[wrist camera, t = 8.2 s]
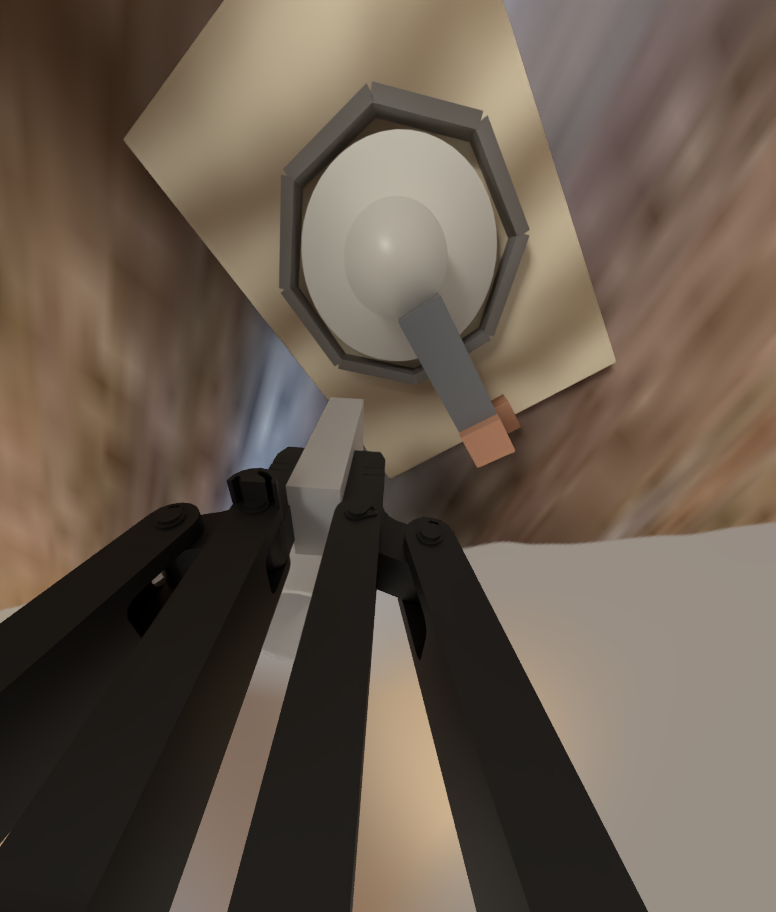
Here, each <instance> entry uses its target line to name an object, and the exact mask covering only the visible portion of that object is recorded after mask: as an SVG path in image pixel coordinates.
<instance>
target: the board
mask: <svg viewBox="0 0 776 912" xmlns="http://www.w3.org/2000/svg"><path fill="white" fill-rule="evenodd" d="M394 129H404V130H415V131H419V132H424V133H427V134H430V135H432V136H434V137H437V138H439V139H441V140H443V141H444V142H446V143H447V144H449V145H451V146H452V147H453V148H455V149H456V150H457V151H458V152H459V153H460V154H461V155H462V156H464V157H465V159H466V160H467V161H468V162H469V163H470V165H471V166H472V167H473V168H474V169H475V171H476V173H477V174H478V176H479V178H480V179H481V181H482V183H483V185H484V187H485V189H486V192H487V194H488V196H489V199H490V202H491V206H492V209H493V212H494V218H495V224H496V234H497V252H496V263H495V268H494V274H493V277H492V281H491V284H490V288H489V290H488V293H487V295H486V297H485V300H484V302H483V304H482V306H481V307H480V309H479V311H478V313H477V314H476V316H475V317H474V319H473V320H472V321H471V323H470V324H469V325H468V326H467V328H466V329H465V330H464V331H463V332H462V333H461V334H460V337H461V339H462V341H463V343H464V345H465V347H466V350H467V352H468V354H469V356H470V358H471V360H472V362H473V364H474V366H475V368H476V371H477V373H478V375H479V377H480V379H481V381H482V383H483V385H484V387H485V389H486V392H487V394H488V396H489V398H490V400H491V402H492V404H493V406H494V408H495V410H496V413H497V414H498V416H499V418H500V419H501V422H502V424H503V426H504V428H505V430H506V432H507V434H508V433H510V432H512V431H514V430H516V429H518V428H520V427H521V426H520V424H519V422H518V420H517V418H516V416H515V414H517V413H519V412H521V411H523V410H525V409H526V408H528V407H530V406H532V405H534V404H536V403H538V402H540V401H542V400H544V399H546V398H548V397H550V396H552V395H553V394H555V393H557V392H559V391H561V390H563V389H565V388H567V387H569V386H571V385H573V384H575V383H577V382H579V381H580V380H582V379H584V378H586V377H588V376H590V375H592V374H594V373H596V372H598V371H600V370H602V369H604V368H606V367H608V366H609V365H611V364H613V363H615V362H616V360H615V357H614V353H613V350H612V347H611V344H610V341H609V337H608V334H607V331H606V328H605V325H604V321H603V318H602V315H601V312H600V309H599V305H598V302H597V299H596V296H595V293H594V289H593V286H592V283H591V280H590V277H589V274H588V270H587V267H586V264H585V261H584V258H583V254H582V251H581V248H580V245H579V242H578V238H577V235H576V232H575V229H574V226H573V222H572V219H571V216H570V213H569V210H568V206H567V203H566V200H565V197H564V194H563V191H562V187H561V184H560V181H559V178H558V175H557V171H556V168H555V165H554V162H553V159H552V155H551V152H550V149H549V146H548V143H547V139H546V136H545V133H544V130H543V127H542V123H541V120H540V117H539V114H538V111H537V108H536V104H535V101H534V98H533V95H532V92H531V88H530V85H529V82H528V79H527V76H526V72H525V69H524V66H523V63H522V60H521V56H520V53H519V50H518V47H517V44H516V40H515V37H514V34H513V31H512V28H511V25H510V21H509V18H508V15H507V12H506V9H505V5H504V2H503V0H224V1H223V2H222V4H221V5H220V6H219V8H218V9H217V11H216V12H215V13H214V15H213V16H212V17H211V19H210V20H209V22H208V23H207V24H206V26H205V27H204V28H203V30H202V31H201V33H200V34H199V35H198V37H197V38H196V40H195V41H194V42H193V44H192V45H191V46H190V48H189V49H188V51H187V52H186V53H185V55H184V56H183V58H182V59H181V60H180V62H179V63H178V64H177V66H176V67H175V69H174V70H173V71H172V73H171V74H170V75H169V77H168V78H167V80H166V81H165V82H164V84H163V85H162V87H161V88H160V89H159V91H158V92H157V93H156V95H155V96H154V98H153V99H152V100H151V102H150V103H149V104H148V106H147V107H146V109H145V110H144V111H143V113H142V114H141V116H140V117H139V118H138V120H137V121H136V122H135V124H134V125H133V127H132V128H131V129H130V131H129V132H128V133H127V135H126V136H125V138H124V139H123V140H124V141H125V143H126V144H127V145H128V146H129V148H130V149H131V150H132V151H133V153H134V154H135V155H136V157H137V158H138V159H139V160H140V162H141V163H142V164H143V165H144V167H145V168H146V169H147V171H148V172H149V173H150V174H151V176H152V177H153V178H154V179H155V181H156V182H157V183H158V185H159V186H160V187H161V188H162V190H163V191H164V192H165V193H166V195H167V196H168V197H169V199H170V200H171V201H172V202H173V204H174V205H175V206H176V207H177V209H178V210H179V211H180V213H181V214H182V215H183V216H184V218H185V219H186V220H187V221H188V223H189V224H190V225H191V227H192V228H193V229H194V230H195V232H196V233H197V234H198V235H199V237H200V238H201V239H202V241H203V242H204V243H205V244H206V246H207V247H208V248H209V249H210V251H211V252H212V253H213V254H214V256H215V257H216V258H217V260H218V261H219V262H220V263H221V265H222V266H223V267H224V268H225V270H226V271H227V272H228V274H229V275H230V276H231V277H232V279H233V280H234V281H235V282H236V284H237V285H238V286H239V288H240V289H241V290H242V291H243V293H244V294H245V295H246V296H247V298H248V299H249V300H250V302H251V303H252V304H253V305H254V307H255V308H256V309H257V310H258V312H259V313H260V314H261V316H262V317H263V318H264V319H265V321H266V322H267V323H268V324H269V326H270V327H271V328H272V330H273V331H274V332H275V333H276V335H277V336H278V337H279V338H280V340H281V341H282V342H283V344H284V345H285V346H286V347H287V349H288V350H289V351H290V352H291V354H292V355H293V356H294V358H295V359H296V360H297V361H298V363H299V364H300V365H301V366H302V368H303V369H304V370H305V372H306V373H307V374H308V375H309V377H310V378H311V379H312V380H313V382H314V383H315V384H316V386H317V387H318V388H319V389H320V391H321V392H322V393H323V394H324V396H325V397H326V398H327V400H328V401H329V399H330V397H337V398H352V399H364V417H363V445H364V447H365V448H366V449H367V450H368V451H373V452H381V453H382V455H383V457H384V458H385V473H386V475H387V476H388V477H389V478H390V479H391V478H393V477H395V476H397V475H399V474H401V473H403V472H405V471H407V470H409V469H411V468H413V467H414V466H416V465H418V464H420V463H422V462H424V461H426V460H428V459H430V458H432V457H434V456H436V455H438V454H440V453H442V452H443V451H445V450H447V449H449V448H451V447H453V446H455V445H457V444H459V443H461V442H463V441H462V439H461V437H460V434H459V431H458V430H457V428H456V426H455V424H454V422H453V421H452V419H451V417H450V415H449V413H448V412H447V410H446V408H445V406H444V404H443V403H442V401H441V399H440V397H439V395H438V393H437V392H436V390H435V388H434V386H433V384H432V383H431V381H430V379H429V377H428V375H427V374H426V372H425V370H424V368H423V366H422V365H421V363H420V361H419V359H413V360H407V361H387V360H382V359H377V358H374V357H370V356H367V355H365V354H363V353H361V352H359V351H357V350H355V349H353V348H352V347H350V346H349V345H347V344H346V343H345V342H343V341H342V340H341V339H340V338H339V337H337V336H336V334H335V333H334V332H333V331H332V330H331V329H330V328H329V327H328V326H327V324H326V323H325V321H324V320H323V319H322V317H321V316H320V314H319V312H318V311H317V309H316V307H315V305H314V303H313V300H312V298H311V296H310V294H309V290H308V287H307V284H306V281H305V276H304V271H303V265H302V253H301V246H302V231H303V223H304V218H305V214H306V211H307V207H308V204H309V201H310V199H311V196H312V193H313V191H314V189H315V187H316V185H317V184H318V182H319V180H320V178H321V176H322V175H323V174H324V172H325V171H326V169H327V168H328V167H329V165H330V164H331V163H332V162H333V161H334V160H335V159H336V158H337V157H338V156H339V155H340V154H341V153H342V152H343V151H344V150H346V149H347V148H348V147H350V146H351V145H352V144H354V143H355V142H357V141H359V140H361V139H363V138H365V137H367V136H369V135H372V134H375V133H378V132H381V131H388V130H394Z"/></svg>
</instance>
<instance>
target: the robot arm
mask: <svg viewBox="0 0 776 912" xmlns="http://www.w3.org/2000/svg"><path fill="white" fill-rule="evenodd" d="M363 417H364V399H352V398H337V397H330V399H329V401H328V403H327V405H326V407H325V409H324V411H323V413H322V415H321V417H320V419H319V421H318V423H317V425H316V427H315V429H314V431H313V433H312V435H311V437H310V439H309V441H308V443H307V445H306V447H305V448H298V447H287V448H286V449H284V450H283V451H281V452H280V453H278V454H277V456H276V458H275V459H274V461H273V464H271V466H270V467H269V470H268V469H263V468H251V469H247V470H243V471H240V472H238V473H236V474H234V475H232V476H231V477H230V478H229V479H228V480H227V484H228V487H229V491H230V495H231V499H232V502H233V505H232V506H231V508H230V509H229V510H227V511H222V512H216V513H210V514H203V515H200V512H199V510H198V508H197V506H195V505H193V504H190V503H176V504H170V505H167V506H164V507H161V508H159V509H157V510H156V511H154V512H152V513H151V514H149V515H148V516H146V517H145V518H144V519H142V520H141V521H140V522H138V523H137V524H135V525H134V526H133V527H131V528H130V529H129V530H127V531H126V532H125V533H123V534H122V535H120V536H119V537H118V538H116V539H115V540H114V541H112V542H111V543H110V544H108V545H107V546H105V547H104V548H103V549H101V550H100V551H99V552H97V553H96V554H94V555H93V556H92V557H90V558H89V559H88V560H86V561H85V562H84V563H82V564H81V565H79V566H78V567H77V568H75V569H74V570H73V571H71V572H70V573H69V574H67V575H66V576H64V577H63V578H62V579H60V580H59V581H58V582H56V583H55V584H53V585H52V586H51V587H49V588H48V589H47V590H45V591H44V592H43V593H41V594H40V595H38V596H37V597H36V598H34V599H33V600H32V601H30V602H29V603H28V604H26V605H25V606H23V607H22V608H21V609H19V610H18V611H17V612H15V613H14V614H12V615H11V616H10V617H8V618H7V619H6V620H4V621H3V622H2V623H0V843H1V842H2V841H3V840H4V838H5V837H6V836H7V835H8V834H9V835H8V836H7V838H6V839H5V841H4V842H3V844H2V845H1V846H0V912H169V910H170V907H171V905H172V902H173V899H174V896H175V893H176V891H177V888H178V884H179V882H180V879H181V876H182V874H183V870H184V868H185V865H186V862H187V859H188V857H189V854H190V851H191V848H192V845H193V842H194V840H195V837H196V834H197V831H198V828H199V825H200V823H201V820H202V817H203V814H204V811H205V808H206V806H207V803H208V800H209V797H210V794H211V791H212V789H213V786H214V783H215V780H216V777H217V774H218V772H219V769H220V765H221V763H222V760H223V757H224V755H225V751H226V749H227V746H228V743H229V740H230V738H231V735H232V732H233V729H234V726H235V723H236V721H237V718H238V715H239V712H240V709H241V706H242V704H243V700H244V698H245V695H246V692H247V689H248V687H249V684H250V681H251V678H252V675H253V672H254V669H255V666H256V664H257V661H258V658H259V655H260V652H261V650H262V647H263V644H264V641H265V638H266V636H267V633H268V630H269V627H270V624H271V621H272V619H273V616H274V613H275V610H276V607H277V604H278V602H279V599H280V596H281V593H282V590H283V587H284V584H285V582H286V579H287V576H288V573H289V570H290V565H291V561H290V552H291V549H292V546H293V544H294V547H295V554H304V555H319V556H322V559H321V563H320V566H319V570H318V574H317V578H316V581H315V585H314V589H313V593H312V596H311V600H310V604H309V608H308V611H307V615H306V619H305V623H304V626H303V630H302V634H301V638H300V641H299V645H298V649H297V653H296V656H295V660H294V664H293V668H292V672H291V675H290V679H289V682H288V687H287V690H286V694H285V698H284V701H283V705H282V709H281V713H280V716H279V720H278V724H277V728H276V732H275V735H274V739H273V743H272V746H271V750H270V754H269V758H268V761H267V765H266V769H265V772H264V776H263V780H262V784H261V787H260V791H259V795H258V799H257V802H256V806H255V810H254V814H253V818H252V821H251V825H250V829H249V833H248V836H247V840H246V844H245V848H244V851H243V855H242V859H241V862H240V866H239V870H238V874H237V878H236V881H235V885H234V889H233V893H232V896H231V900H230V904H229V907H228V912H352V908H353V895H354V881H355V868H356V855H357V842H358V828H359V814H360V801H361V788H362V775H363V762H364V748H365V736H366V722H367V709H368V695H369V683H370V669H371V655H372V643H373V629H374V616H375V603H376V590H377V589H378V590H380V591H383V592H385V593H388V594H390V595H393V596H396V597H398V602H399V606H400V610H401V614H402V617H403V621H404V625H405V629H406V633H407V637H408V641H409V645H410V649H411V653H412V657H413V661H414V665H415V669H416V673H417V677H418V681H419V685H420V689H421V693H422V697H423V701H424V705H425V709H426V713H427V716H428V720H429V725H430V728H431V732H432V736H433V740H434V744H435V748H436V752H437V756H438V760H439V764H440V768H441V772H442V776H443V780H444V784H445V787H446V792H447V796H448V800H449V803H450V808H451V812H452V816H453V819H454V823H455V828H456V831H457V836H458V839H459V843H460V847H461V851H462V855H463V859H464V863H465V867H466V871H467V875H468V879H469V883H470V887H471V891H472V894H473V899H474V903H475V907H476V911H477V912H648V911H647V909H646V907H645V905H644V903H643V901H642V899H641V897H640V895H639V893H638V891H637V889H636V887H635V885H634V883H633V881H632V879H631V877H630V876H629V874H628V872H627V870H626V868H625V866H624V864H623V862H622V860H621V858H620V856H619V854H618V852H617V850H616V848H615V846H614V844H613V842H612V840H611V838H610V837H609V835H608V833H607V831H606V829H605V827H604V825H603V823H602V821H601V819H600V817H599V815H598V813H597V811H596V809H595V807H594V805H593V803H592V801H591V799H590V797H589V796H588V794H587V792H586V790H585V788H584V786H583V784H582V782H581V780H580V778H579V776H578V774H577V772H576V770H575V768H574V766H573V764H572V762H571V761H570V759H569V756H568V755H567V753H566V751H565V749H564V747H563V745H562V743H561V741H560V739H559V737H558V735H557V733H556V731H555V729H554V727H553V726H552V723H551V721H550V719H549V718H548V716H547V714H546V712H545V710H544V708H543V706H542V704H541V702H540V700H539V698H538V696H537V694H536V692H535V690H534V688H533V686H532V684H531V683H530V680H529V678H528V676H527V675H526V673H525V671H524V669H523V667H522V665H521V663H520V661H519V659H518V657H517V655H516V653H515V651H514V649H513V648H512V645H511V643H510V641H509V640H508V637H507V636H506V634H505V632H504V630H503V628H502V626H501V624H500V622H499V620H498V618H497V616H496V614H495V612H494V610H493V608H492V606H491V604H490V602H489V600H488V599H487V596H486V595H485V593H484V591H483V589H482V587H481V585H480V583H479V581H478V579H477V577H476V575H475V573H474V571H473V569H472V567H471V565H470V563H469V561H468V559H467V558H466V555H465V554H464V552H463V550H462V548H461V546H460V544H459V542H458V540H457V538H456V536H455V534H454V532H453V531H452V530H451V528H450V527H449V526H448V525H447V524H445V523H444V522H442V521H440V520H437V519H434V518H424V517H422V518H419V519H415V520H413V521H412V522H410V523H409V524H408V525H407V524H404V523H401V522H398V521H396V520H394V519H392V518H391V517H390V516H388V515H387V513H386V512H385V511H384V509H383V492H384V476H385V458H384V457H383V455H382V453H381V452H373V451H363ZM160 573H162V575H163V577H164V578H163V579H161V580H160V581H159V582H157V583H156V584H152V582H151V581H152V580H153V579H154V578H155V577H157V576H158V575H159V574H160ZM10 831H11V832H10Z"/></svg>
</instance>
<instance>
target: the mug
mask: <svg viewBox="0 0 776 912" xmlns="http://www.w3.org/2000/svg"><path fill="white" fill-rule="evenodd" d="M321 559H322V556H319V555H304V554H295V547H294V544H293V546H292V549H291V552H290V561H291V565H290V570H289V573H288V576H287V579H286V582H285V584H284V587H283V590H282V593H281V596H280V599H279V602H278V604H277V607H276V610H275V613H274V616H273V619H272V621H271V624H270V627H269V630H268V633H267V636H266V638H265V641H264V644H263V647H262V650H261V652H263V653H265V654H267V655H270V656H272V657H275V658H278V659H282V660H286V661H290V662H294V660H295V656H296V653H297V649H298V645H299V641H300V638H301V634H302V630H303V626H304V623H305V619H306V615H307V611H308V608H309V604H310V600H311V596H312V593H313V589H314V585H315V581H316V578H317V574H318V570H319V566H320V563H321Z"/></svg>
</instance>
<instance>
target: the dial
mask: <svg viewBox="0 0 776 912" xmlns="http://www.w3.org/2000/svg"><path fill="white" fill-rule="evenodd" d="M496 252H497V234H496V224H495V218H494V212H493V209H492V206H491V202H490V199H489V196H488V194H487V192H486V189H485V187H484V185H483V183H482V181H481V179H480V178H479V176H478V174H477V173H476V171H475V169H474V168H473V167H472V166H471V165H470V163H469V162H468V161H467V160H466V159H465V157H464V156H462V155H461V154H460V153H459V152H458V151H457V150H456V149H455V148H453V147H452V146H451V145H449V144H447V143H446V142H444V141H443V140H441V139H439V138H437V137H434V136H432V135H430V134H427V133H424V132H419V131H415V130H404V129H394V130H388V131H381V132H378V133H375V134H372V135H369V136H367V137H365V138H363V139H361V140H359V141H357V142H355V143H354V144H352V145H351V146H350V147H348V148H347V149H346V150H344V151H343V152H342V153H341V154H340V155H339V156H338V157H337V158H336V159H335V160H334V161H333V162H332V163H331V164H330V165H329V167H328V168H327V169H326V171H325V172H324V174H323V175H322V176H321V178H320V180H319V182H318V184H317V185H316V187H315V189H314V191H313V193H312V196H311V199H310V201H309V204H308V207H307V211H306V214H305V218H304V223H303V231H302V246H301V253H302V265H303V271H304V276H305V281H306V284H307V287H308V290H309V294H310V296H311V298H312V300H313V303H314V305H315V307H316V309H317V311H318V312H319V314H320V316H321V317H322V319H323V320H324V321H325V323H326V324H327V326H328V327H329V328H330V329H331V330H332V331H333V332H334V333H335V334H336V336H337V337H339V338H340V339H341V340H342V341H343V342H345V343H346V344H347V345H349V346H350V347H352V348H353V349H355V350H357V351H359V352H361V353H363V354H365V355H367V356H370V357H374V358H377V359H382V360H387V361H407V360H413V359H419V361H420V363H421V365H422V366H423V368H424V370H425V372H426V374H427V375H428V377H429V379H430V381H431V383H432V384H433V386H434V388H435V390H436V392H437V393H438V395H439V397H440V399H441V401H442V403H443V404H444V406H445V408H446V410H447V412H448V413H449V415H450V417H451V419H452V421H453V422H454V424H455V426H456V428H457V430H458V431H459V434H460V437H461V439H462V441H463V443H464V445H465V446H466V448H467V450H468V452H469V454H470V455H471V457H472V459H473V461H474V463H475V464H476V466H477V468H479V467H481V466H483V465H486V464H488V463H490V462H492V461H495V460H497V459H499V458H501V457H504V456H506V455H508V454H510V453H513V452H515V449H514V447H513V445H512V443H511V440H510V438H509V436H508V434H507V432H506V430H505V428H504V426H503V424H502V422H501V419H500V418H499V416H498V414H497V413H496V410H495V408H494V406H493V404H492V402H491V400H490V398H489V396H488V394H487V392H486V389H485V387H484V385H483V383H482V381H481V379H480V377H479V375H478V373H477V371H476V368H475V366H474V364H473V362H472V360H471V358H470V356H469V354H468V352H467V350H466V347H465V345H464V343H463V341H462V339H461V337H460V334H461V333H462V332H463V331H464V330H465V329H466V328H467V326H468V325H469V324H470V323H471V321H472V320H473V319H474V317H475V316H476V314H477V313H478V311H479V309H480V307H481V306H482V304H483V302H484V300H485V297H486V295H487V293H488V290H489V288H490V284H491V281H492V277H493V274H494V268H495V263H496Z"/></svg>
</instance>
